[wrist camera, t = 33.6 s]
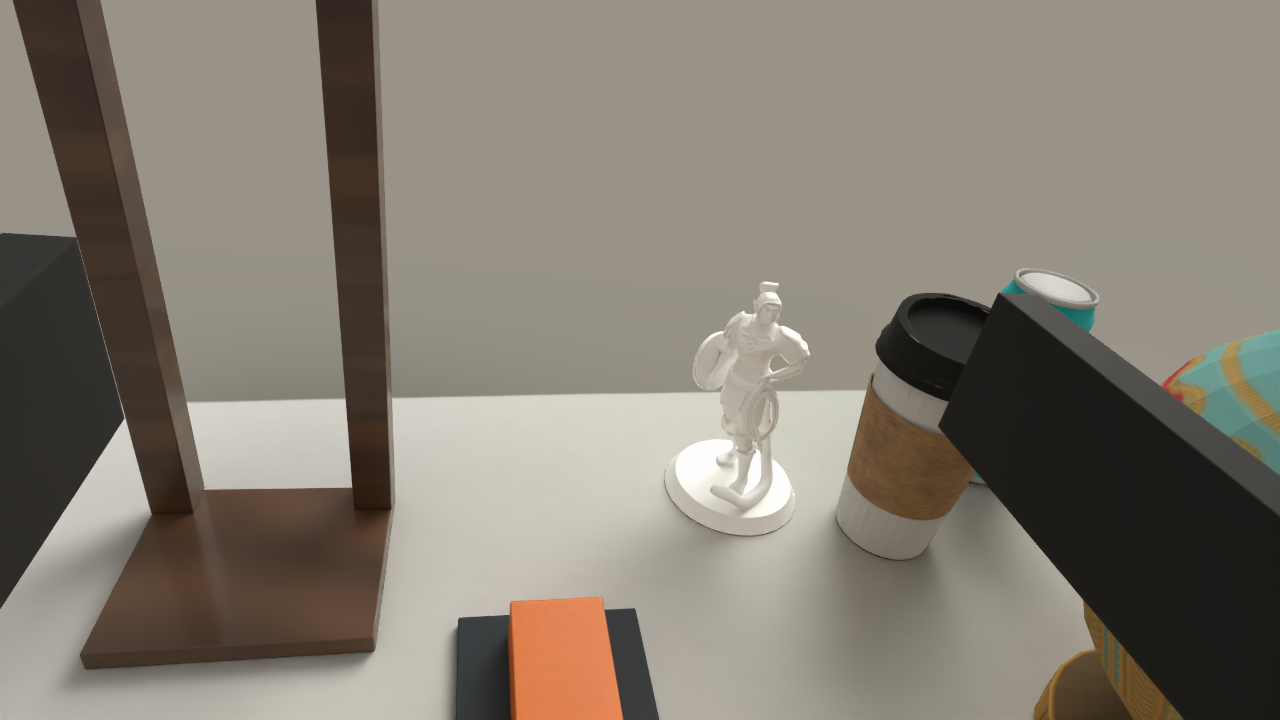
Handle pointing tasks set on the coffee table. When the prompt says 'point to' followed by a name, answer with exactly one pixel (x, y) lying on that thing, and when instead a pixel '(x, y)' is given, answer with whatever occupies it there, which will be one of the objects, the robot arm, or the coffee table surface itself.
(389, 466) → the walnut rack
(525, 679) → the orange block
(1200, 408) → the vase
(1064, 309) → the beverage can
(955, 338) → the coffee cup
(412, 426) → the coffee table surface
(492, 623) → the rubber pad
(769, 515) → the figurine
